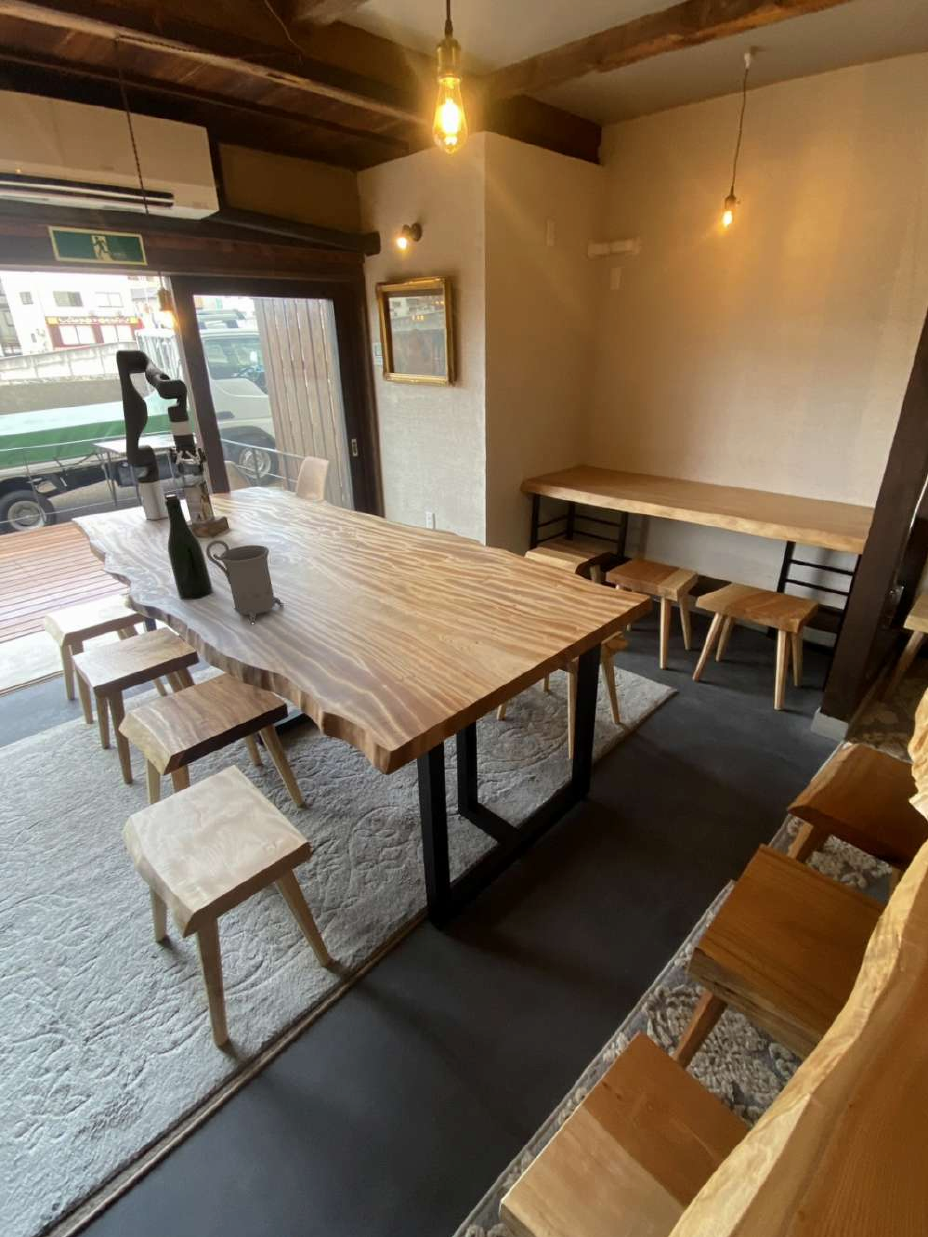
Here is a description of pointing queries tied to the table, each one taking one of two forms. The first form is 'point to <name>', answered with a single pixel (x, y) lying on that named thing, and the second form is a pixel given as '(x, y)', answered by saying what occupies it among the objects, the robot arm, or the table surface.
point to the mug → (247, 577)
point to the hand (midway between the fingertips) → (192, 473)
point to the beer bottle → (185, 554)
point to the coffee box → (198, 502)
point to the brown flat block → (209, 527)
